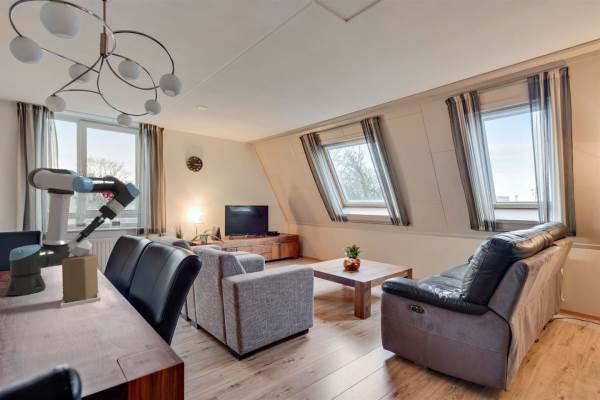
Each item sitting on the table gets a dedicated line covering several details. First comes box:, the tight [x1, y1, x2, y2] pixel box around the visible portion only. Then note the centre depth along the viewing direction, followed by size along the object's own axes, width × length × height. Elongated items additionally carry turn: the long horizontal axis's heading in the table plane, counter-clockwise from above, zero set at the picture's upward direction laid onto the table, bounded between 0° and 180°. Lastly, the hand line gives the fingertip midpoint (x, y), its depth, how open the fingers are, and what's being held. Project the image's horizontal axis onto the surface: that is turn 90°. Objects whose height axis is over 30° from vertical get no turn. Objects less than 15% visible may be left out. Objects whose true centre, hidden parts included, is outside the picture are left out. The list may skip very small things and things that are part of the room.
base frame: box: [60, 290, 102, 309], centre depth 138 cm, size 14×14×2 cm
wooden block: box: [61, 253, 99, 303], centre depth 138 cm, size 10×10×20 cm
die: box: [68, 238, 93, 257], centre depth 139 cm, size 8×9×10 cm
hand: (70, 246), depth 136 cm, fingers open, 8 cm apart
